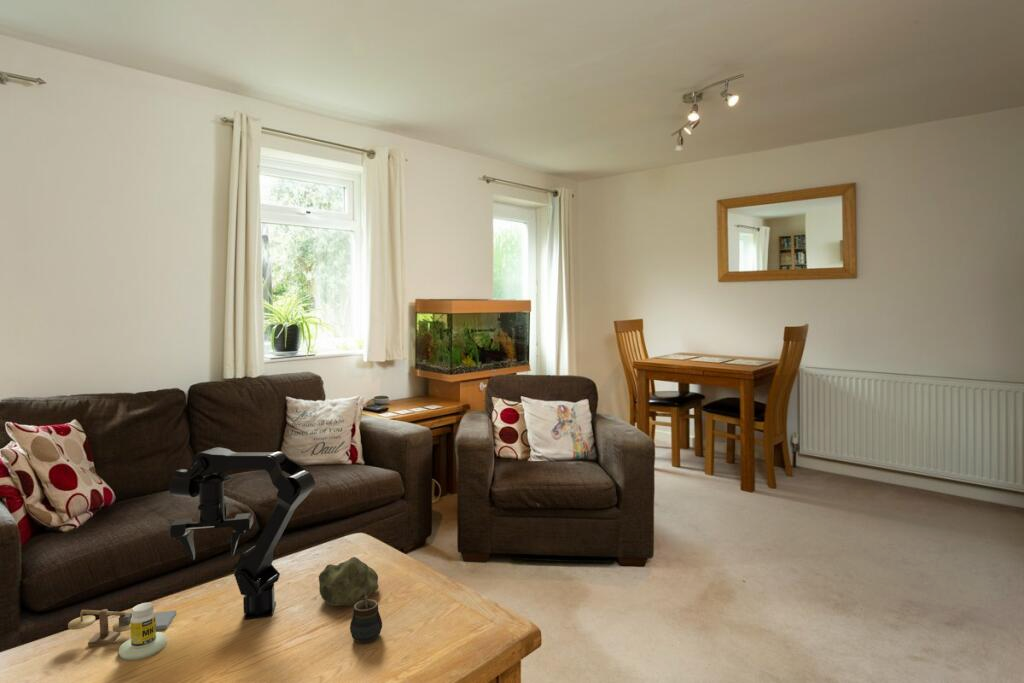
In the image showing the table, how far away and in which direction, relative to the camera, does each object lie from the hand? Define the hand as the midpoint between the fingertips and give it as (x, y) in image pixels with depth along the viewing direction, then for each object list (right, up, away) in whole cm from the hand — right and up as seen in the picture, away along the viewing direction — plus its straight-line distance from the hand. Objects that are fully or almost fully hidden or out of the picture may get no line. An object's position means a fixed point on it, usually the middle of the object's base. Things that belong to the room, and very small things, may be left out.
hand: (213, 557), depth 145 cm
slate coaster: (-10, -13, -7) cm, 18 cm away
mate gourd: (+43, -14, -14) cm, 47 cm away
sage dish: (-7, -14, -18) cm, 23 cm away
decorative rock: (+34, -13, +5) cm, 37 cm away
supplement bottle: (-6, -13, -18) cm, 23 cm away
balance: (-18, -14, -14) cm, 27 cm away
